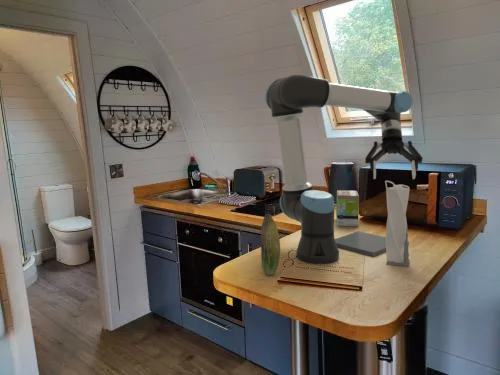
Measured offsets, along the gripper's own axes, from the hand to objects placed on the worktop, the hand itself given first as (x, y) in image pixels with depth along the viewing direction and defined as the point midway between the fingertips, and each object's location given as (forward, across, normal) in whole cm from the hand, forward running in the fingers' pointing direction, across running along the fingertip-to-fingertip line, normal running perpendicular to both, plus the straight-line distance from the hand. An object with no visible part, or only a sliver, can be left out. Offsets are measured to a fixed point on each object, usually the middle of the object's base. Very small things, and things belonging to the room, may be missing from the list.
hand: (394, 176), depth 141 cm
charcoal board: (+17, +10, -22) cm, 29 cm away
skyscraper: (+29, 0, -10) cm, 31 cm away
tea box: (-7, +17, -47) cm, 50 cm away
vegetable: (+44, +40, +4) cm, 59 cm away
